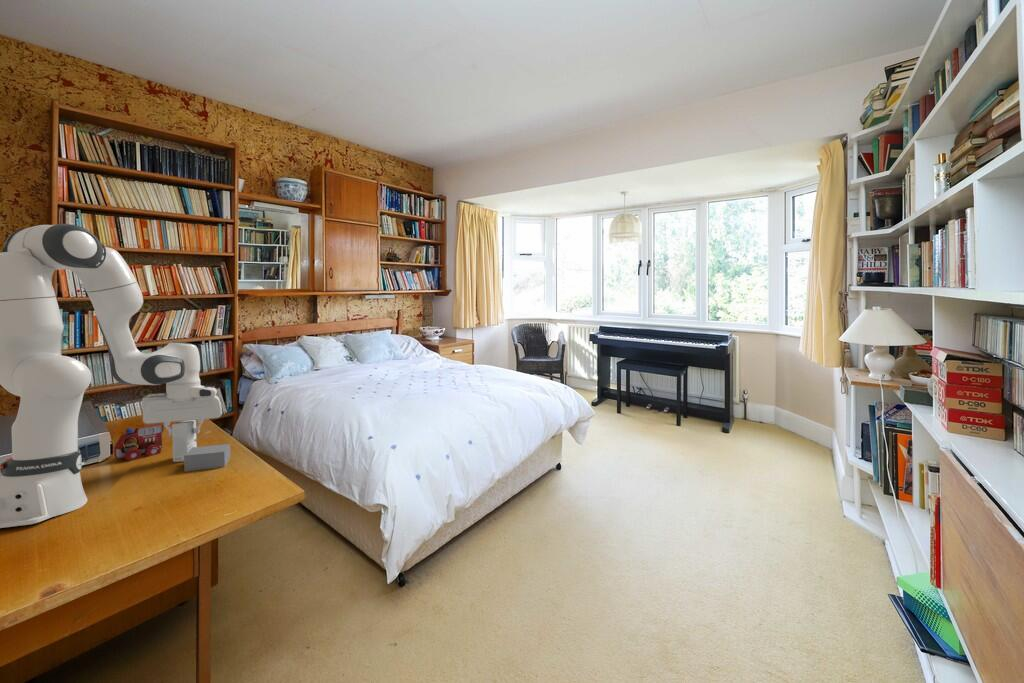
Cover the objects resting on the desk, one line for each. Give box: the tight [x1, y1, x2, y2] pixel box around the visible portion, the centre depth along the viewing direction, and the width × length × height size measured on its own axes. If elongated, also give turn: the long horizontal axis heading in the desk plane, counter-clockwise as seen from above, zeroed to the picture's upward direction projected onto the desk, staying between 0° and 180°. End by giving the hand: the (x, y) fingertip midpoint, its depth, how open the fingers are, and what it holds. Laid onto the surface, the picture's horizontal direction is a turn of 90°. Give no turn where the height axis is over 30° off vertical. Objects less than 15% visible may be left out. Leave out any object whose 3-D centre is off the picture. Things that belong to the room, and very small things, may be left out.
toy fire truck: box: [113, 423, 164, 462], centre depth 139 cm, size 7×12×10 cm, turn 146°
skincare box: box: [171, 420, 198, 463], centre depth 137 cm, size 6×4×12 cm
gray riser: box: [183, 443, 231, 472], centre depth 132 cm, size 10×10×5 cm
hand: (184, 434), depth 137 cm, fingers closed on skincare box, 5 cm apart
